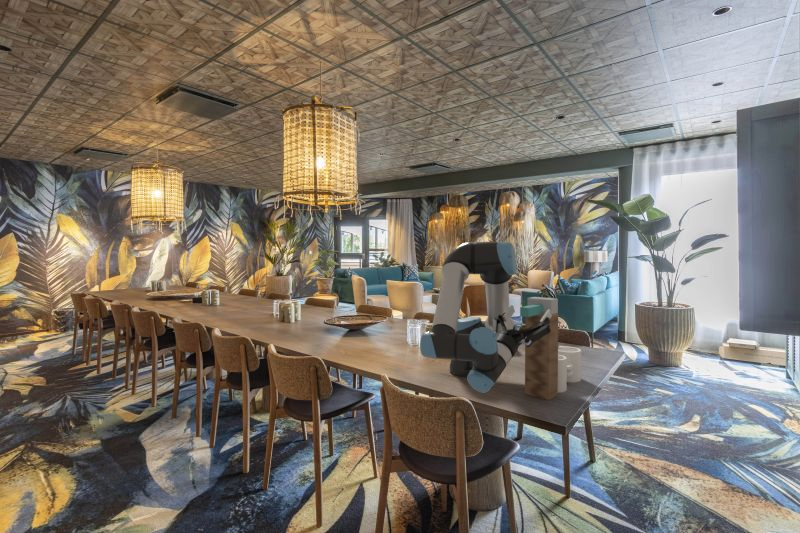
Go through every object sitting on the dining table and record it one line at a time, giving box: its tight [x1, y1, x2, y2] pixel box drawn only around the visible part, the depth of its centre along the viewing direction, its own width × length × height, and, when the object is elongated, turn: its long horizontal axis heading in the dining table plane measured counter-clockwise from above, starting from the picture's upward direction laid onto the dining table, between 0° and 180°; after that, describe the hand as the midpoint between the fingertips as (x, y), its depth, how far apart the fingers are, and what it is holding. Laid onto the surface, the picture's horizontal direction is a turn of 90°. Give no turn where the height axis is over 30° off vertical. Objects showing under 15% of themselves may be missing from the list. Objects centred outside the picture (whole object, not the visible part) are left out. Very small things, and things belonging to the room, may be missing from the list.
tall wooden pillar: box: [524, 312, 559, 401], centre depth 143 cm, size 9×7×30 cm
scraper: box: [519, 296, 559, 317], centre depth 139 cm, size 9×16×5 cm, turn 134°
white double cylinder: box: [558, 345, 582, 393], centre depth 156 cm, size 25×10×12 cm, turn 139°
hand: (530, 310), depth 136 cm, fingers open, 13 cm apart
